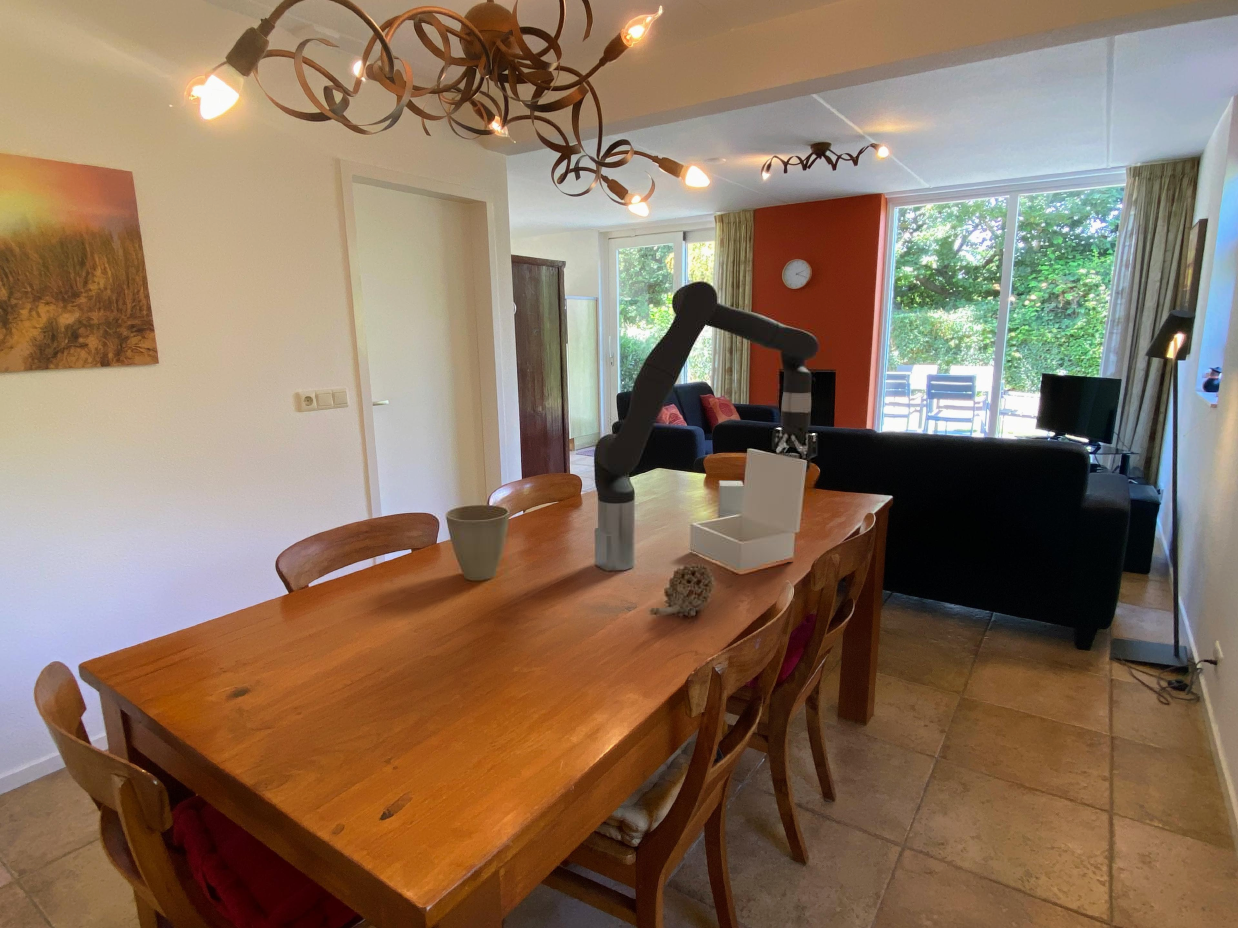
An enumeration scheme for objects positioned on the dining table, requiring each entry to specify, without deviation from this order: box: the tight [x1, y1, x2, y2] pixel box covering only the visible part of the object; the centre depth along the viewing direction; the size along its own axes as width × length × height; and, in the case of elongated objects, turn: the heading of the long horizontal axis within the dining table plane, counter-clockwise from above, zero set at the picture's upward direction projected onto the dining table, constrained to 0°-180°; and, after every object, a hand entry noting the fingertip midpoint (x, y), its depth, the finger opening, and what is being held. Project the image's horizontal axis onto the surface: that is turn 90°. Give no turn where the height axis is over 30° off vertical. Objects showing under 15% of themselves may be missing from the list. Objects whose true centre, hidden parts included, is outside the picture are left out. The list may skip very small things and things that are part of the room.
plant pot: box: [445, 504, 510, 582], centre depth 158 cm, size 15×15×16 cm
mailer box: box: [689, 514, 796, 571], centre depth 171 cm, size 18×20×8 cm
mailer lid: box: [741, 448, 807, 533], centre depth 176 cm, size 18×20×8 cm
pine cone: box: [648, 563, 715, 618], centre depth 134 cm, size 22×10×10 cm, turn 150°
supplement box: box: [717, 480, 744, 519], centre depth 202 cm, size 7×7×13 cm
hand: (792, 468), depth 177 cm, fingers open, 8 cm apart
